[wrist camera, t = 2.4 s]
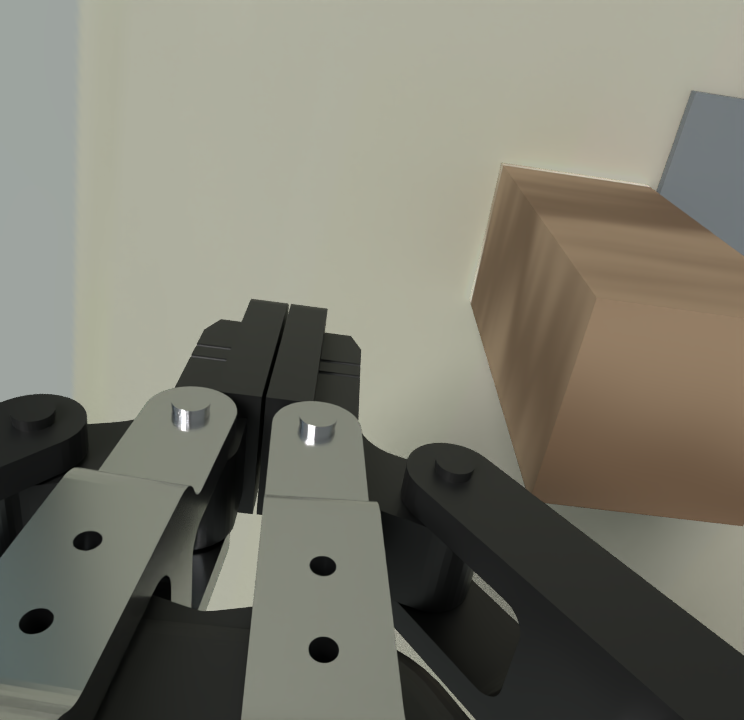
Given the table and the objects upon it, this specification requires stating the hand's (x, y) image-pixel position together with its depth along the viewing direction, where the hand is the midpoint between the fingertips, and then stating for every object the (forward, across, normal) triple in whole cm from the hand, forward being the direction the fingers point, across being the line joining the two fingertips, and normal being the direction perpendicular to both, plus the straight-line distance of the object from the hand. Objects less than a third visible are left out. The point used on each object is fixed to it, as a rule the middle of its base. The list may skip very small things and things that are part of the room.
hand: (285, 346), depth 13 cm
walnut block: (+9, -8, 0) cm, 11 cm away
